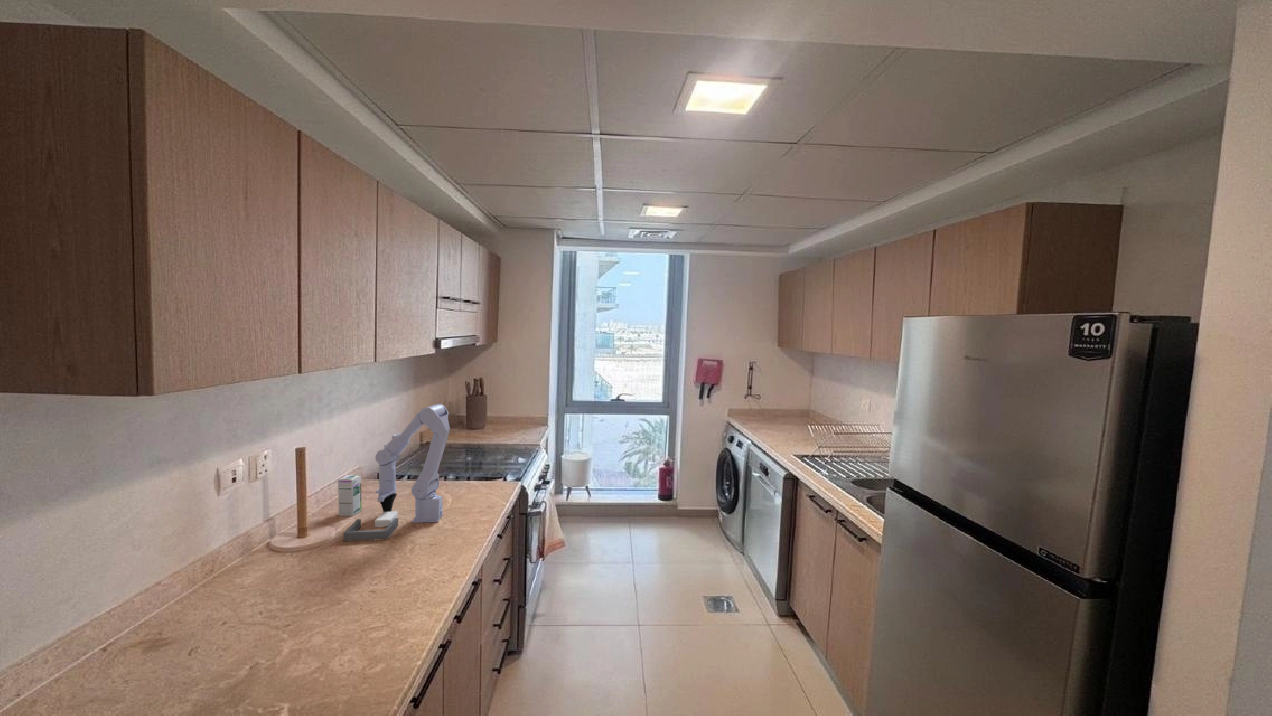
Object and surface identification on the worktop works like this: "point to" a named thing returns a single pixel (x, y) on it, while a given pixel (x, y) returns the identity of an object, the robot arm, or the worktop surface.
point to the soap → (386, 518)
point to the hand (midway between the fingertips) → (387, 513)
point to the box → (368, 532)
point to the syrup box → (349, 495)
